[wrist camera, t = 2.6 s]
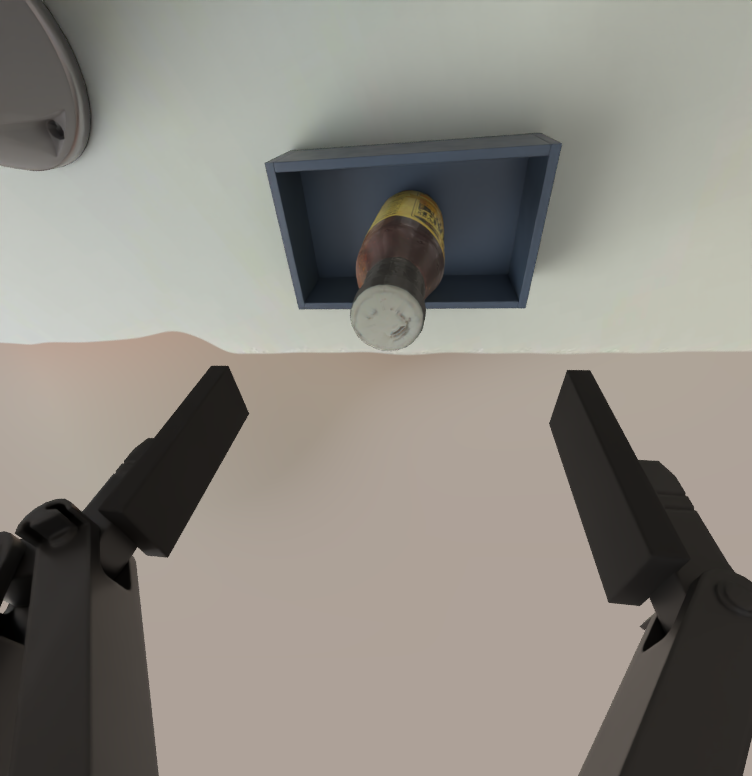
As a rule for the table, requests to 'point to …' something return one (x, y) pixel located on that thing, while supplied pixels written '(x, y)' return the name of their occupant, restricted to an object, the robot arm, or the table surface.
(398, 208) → the sauce bottle
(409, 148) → the open storage box
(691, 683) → the robot arm
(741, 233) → the table surface
